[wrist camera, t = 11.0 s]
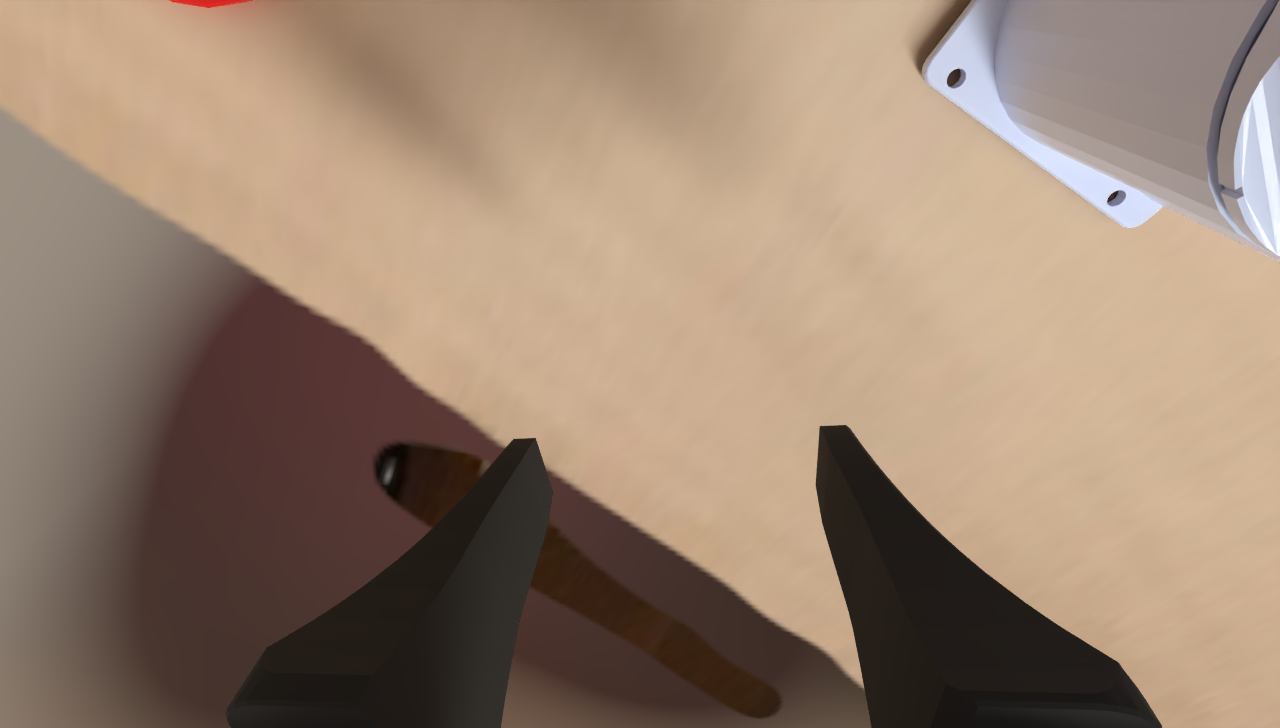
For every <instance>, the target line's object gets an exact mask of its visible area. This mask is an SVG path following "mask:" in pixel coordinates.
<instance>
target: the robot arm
mask: <svg viewBox="0 0 1280 728" xmlns="http://www.w3.org/2000/svg"><path fill="white" fill-rule="evenodd" d="M958 68H959V70H960V71H961V77H960V79H959V80H958V82H957V83H956V84H954V85H952V86H948V85H947V78H948V76H949V74H950V73H951V72H952V71H953V70H955V69H958ZM922 77H923V80H924V81H925V82H926V83H927V84H928V85H929V86H931V87H932V88H933V89H935V90H936V91H937V92H939V93H940V94H941V95H943V96H944V97H946V98H947V99H948V100H950V101H951V102H952V103H954V104H955V105H956V106H958V107H959V108H961V109H962V110H963V111H965V112H966V113H967V114H969V115H970V116H971V117H973V118H974V119H976V120H977V121H978V122H980V123H981V124H982V125H984V126H985V127H986V128H988V129H989V130H991V131H992V132H993V133H995V134H996V135H997V136H999V137H1000V138H1001V139H1003V140H1004V141H1005V142H1007V143H1008V144H1010V145H1011V146H1012V147H1014V148H1015V149H1016V150H1018V151H1019V152H1020V153H1022V154H1023V155H1025V156H1026V157H1027V158H1029V159H1030V160H1031V161H1033V162H1034V163H1035V164H1037V165H1038V166H1040V167H1041V168H1042V169H1044V170H1045V171H1046V172H1048V173H1049V174H1050V175H1052V176H1053V177H1055V178H1056V179H1057V180H1059V181H1060V182H1061V183H1063V184H1064V185H1065V186H1067V187H1068V188H1070V189H1071V190H1072V191H1074V192H1075V193H1076V194H1078V195H1079V196H1080V197H1082V198H1083V199H1085V200H1086V201H1087V202H1089V203H1090V204H1091V205H1093V206H1094V207H1095V208H1097V209H1098V210H1100V211H1101V212H1102V213H1104V214H1105V215H1106V216H1108V217H1109V218H1110V219H1112V220H1113V221H1114V222H1116V223H1118V224H1119V225H1121V226H1123V227H1126V228H1133V227H1136V226H1139V225H1141V224H1142V223H1144V222H1145V221H1147V220H1148V219H1149V218H1150V217H1152V216H1153V215H1154V214H1155V213H1156V212H1157V211H1159V210H1160V209H1161V208H1162V207H1163V206H1164V207H1166V208H1168V209H1170V210H1172V211H1174V212H1176V213H1178V214H1180V215H1183V216H1185V217H1187V218H1189V219H1191V220H1193V221H1195V222H1197V223H1199V224H1201V225H1203V226H1205V227H1207V228H1209V229H1211V230H1214V231H1216V232H1218V233H1220V234H1222V235H1224V236H1226V237H1228V238H1230V239H1232V240H1234V241H1236V242H1238V243H1240V244H1242V245H1245V246H1247V247H1249V248H1251V249H1253V250H1255V251H1257V252H1259V253H1261V254H1263V255H1265V256H1267V257H1269V258H1271V259H1273V260H1276V261H1278V262H1280V0H972V1H971V2H970V3H969V4H968V6H967V7H966V8H965V10H964V11H963V12H962V14H961V15H960V16H959V17H958V19H957V20H956V21H955V23H954V24H953V25H952V26H951V28H950V29H949V30H948V32H947V33H946V34H945V35H944V37H943V38H942V39H941V41H940V42H939V43H938V45H937V46H936V47H935V48H934V50H933V51H932V52H931V54H930V55H929V56H928V57H927V59H926V61H925V63H924V64H923V68H922ZM1115 191H1118V195H1117V196H1116V197H1115V199H1113V200H1112V201H1110V202H1107V200H1108V197H1109V196H1110V195H1111V194H1112V193H1114V192H1115ZM816 489H817V495H818V501H819V507H820V513H821V518H822V524H823V527H824V530H825V534H826V537H827V541H828V544H829V547H830V551H831V554H832V558H833V561H834V564H835V568H836V571H837V574H838V578H839V581H840V584H841V587H842V591H843V594H844V597H845V601H846V604H847V607H848V611H849V615H850V619H851V623H852V627H853V632H854V637H855V642H856V647H857V652H858V657H859V662H860V667H861V672H862V678H863V683H864V688H865V694H866V699H867V704H868V710H869V714H870V721H871V727H872V728H1162V725H1161V724H1160V722H1159V720H1158V719H1157V717H1156V716H1155V714H1154V712H1153V711H1152V709H1151V708H1150V706H1149V704H1148V703H1147V701H1146V700H1145V698H1144V697H1143V695H1142V694H1141V692H1140V691H1139V689H1138V688H1137V687H1136V685H1135V684H1134V683H1133V681H1132V680H1131V679H1130V678H1129V676H1128V675H1127V674H1126V672H1125V671H1124V670H1123V668H1122V667H1121V665H1120V664H1119V663H1118V662H1117V661H1115V660H1113V659H1112V658H1110V657H1109V656H1107V655H1105V654H1104V653H1102V652H1100V651H1099V650H1097V649H1096V648H1094V647H1092V646H1091V645H1089V644H1087V643H1086V642H1084V641H1083V640H1081V639H1079V638H1078V637H1076V636H1075V635H1073V634H1071V633H1070V632H1068V631H1066V630H1065V629H1063V628H1062V627H1060V626H1059V625H1057V624H1056V623H1054V622H1053V621H1051V620H1050V619H1048V618H1047V617H1045V616H1044V615H1042V614H1041V613H1039V612H1038V611H1037V610H1035V609H1034V608H1032V607H1031V606H1029V605H1028V604H1026V603H1025V602H1024V601H1022V600H1021V599H1020V598H1018V597H1017V596H1016V595H1014V594H1013V593H1012V592H1010V591H1009V590H1008V589H1006V588H1005V587H1004V586H1002V585H1001V584H1000V583H999V582H997V581H996V580H995V579H993V578H992V577H991V576H989V575H988V574H987V573H985V572H984V571H983V570H982V569H981V568H979V567H978V566H977V565H976V564H975V563H973V562H972V561H971V560H970V559H969V558H967V557H966V556H965V555H964V554H963V553H962V552H960V551H959V550H958V549H957V548H956V547H955V546H954V545H953V544H952V543H950V542H949V541H948V540H947V539H946V538H945V537H944V536H943V535H942V534H941V533H940V532H939V531H938V530H936V529H935V528H934V527H933V526H932V525H931V524H930V523H929V522H928V521H927V520H926V519H925V518H924V517H923V516H922V515H921V514H920V512H919V511H918V510H917V509H916V508H915V507H914V506H913V505H912V504H911V503H910V502H909V501H908V500H907V499H906V498H905V497H904V495H903V494H902V493H901V492H900V491H899V490H898V489H897V488H896V486H895V485H894V484H893V483H892V482H891V481H890V479H889V478H888V477H887V476H886V475H885V474H884V472H883V471H882V470H881V469H880V468H879V466H878V465H877V464H876V463H875V461H874V460H873V459H872V458H871V456H870V455H869V454H868V452H867V451H866V450H865V448H864V447H863V446H862V444H861V443H860V442H859V440H858V439H857V438H856V436H855V435H854V433H853V432H852V430H851V429H850V428H849V427H848V426H846V425H838V426H820V431H819V446H818V460H817V475H816ZM552 495H553V491H552V487H551V484H550V481H549V478H548V475H547V472H546V469H545V466H544V463H543V459H542V456H541V453H540V450H539V447H538V444H537V441H536V438H527V439H513V440H512V441H511V443H510V444H509V445H508V446H507V447H506V448H505V449H504V451H503V452H502V453H501V454H500V455H499V456H498V457H497V459H496V460H495V461H494V462H493V464H492V465H491V466H490V467H489V468H488V469H487V470H486V472H485V473H484V474H483V475H482V476H481V477H480V478H479V480H478V481H477V482H476V483H475V484H474V485H473V486H472V487H471V489H470V490H469V491H468V492H467V493H466V494H465V495H464V496H463V498H462V499H461V500H460V501H459V502H458V503H457V504H456V505H455V506H454V507H453V508H452V509H451V510H450V511H449V512H448V513H447V514H446V515H445V516H444V517H443V518H442V520H441V521H440V522H439V523H438V524H437V525H436V526H435V527H434V528H433V529H432V530H430V531H429V532H428V533H427V534H426V535H425V536H424V537H423V538H422V539H421V540H420V541H419V542H418V543H416V544H415V545H414V546H413V547H412V548H411V549H409V551H407V552H406V553H405V554H404V555H403V556H401V557H400V558H399V559H398V560H397V561H395V562H394V563H393V564H392V565H390V566H389V567H388V568H386V569H385V570H384V571H383V572H381V573H380V574H379V575H378V576H376V577H375V578H374V579H372V580H371V581H370V582H368V583H367V584H366V585H365V586H363V587H362V588H360V589H359V590H358V591H356V592H355V593H353V594H352V595H351V596H349V597H348V598H346V599H345V600H343V601H342V602H340V603H339V604H338V605H336V606H334V607H333V608H332V609H330V610H328V611H327V612H326V613H324V614H322V615H321V616H319V617H318V618H316V619H315V620H313V621H311V622H310V623H308V624H306V625H305V626H303V627H301V628H300V629H298V630H296V631H294V632H293V633H291V634H289V635H288V636H286V637H285V638H283V639H281V640H279V641H278V642H276V643H274V644H272V645H271V646H269V647H267V648H266V650H265V651H264V653H263V654H262V655H261V657H260V659H259V660H258V662H257V663H256V665H255V666H254V668H253V669H252V671H251V673H250V674H249V676H248V677H247V679H246V680H245V682H244V683H243V685H242V686H241V688H240V689H239V691H238V692H237V694H236V696H235V697H234V699H233V700H232V702H231V703H230V705H229V706H228V708H227V712H226V717H227V720H228V723H229V725H230V727H231V728H501V722H502V715H503V708H504V702H505V696H506V690H507V685H508V679H509V673H510V667H511V661H512V656H513V652H514V646H515V641H516V637H517V631H518V626H519V622H520V618H521V614H522V610H523V607H524V603H525V600H526V597H527V593H528V590H529V587H530V584H531V580H532V577H533V574H534V571H535V567H536V564H537V561H538V557H539V554H540V551H541V547H542V544H543V541H544V537H545V534H546V530H547V526H548V520H549V515H550V508H551V502H552Z"/></svg>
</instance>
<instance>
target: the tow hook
mask: <svg viewBox="0 0 1280 728" xmlns="http://www.w3.org/2000/svg"><path fill="white" fill-rule="evenodd" d="M170 1H172V2H176V3H182V4H188V5H195V6H201V7H207V8H210V7H218V6H225V5H230V4H236V3H242V2H247V1H253V0H170Z"/></svg>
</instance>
